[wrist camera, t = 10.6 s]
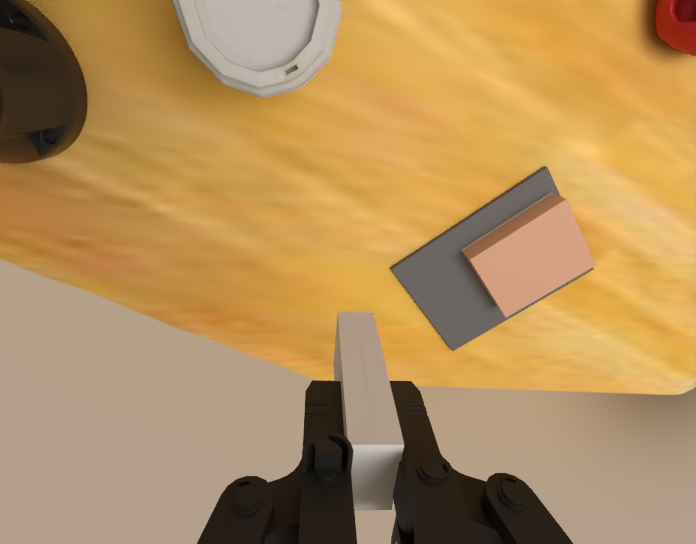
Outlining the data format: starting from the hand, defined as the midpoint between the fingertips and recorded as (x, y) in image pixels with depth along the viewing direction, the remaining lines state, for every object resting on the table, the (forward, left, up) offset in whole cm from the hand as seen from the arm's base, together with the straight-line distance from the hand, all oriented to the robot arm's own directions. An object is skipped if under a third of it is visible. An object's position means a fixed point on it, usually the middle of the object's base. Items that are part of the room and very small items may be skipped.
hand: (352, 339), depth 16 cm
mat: (+21, -9, -29) cm, 37 cm away
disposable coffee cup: (-6, +14, -30) cm, 33 cm away
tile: (+19, -11, -27) cm, 35 cm away
